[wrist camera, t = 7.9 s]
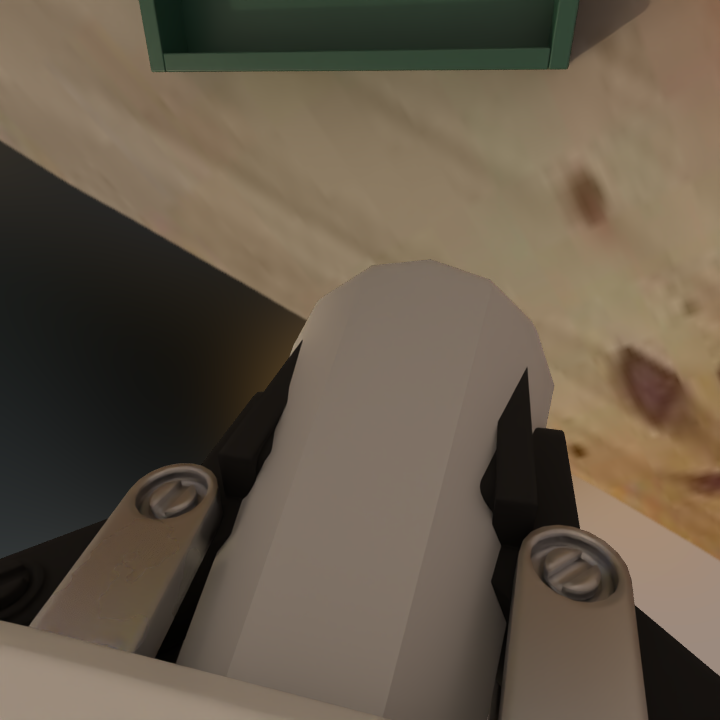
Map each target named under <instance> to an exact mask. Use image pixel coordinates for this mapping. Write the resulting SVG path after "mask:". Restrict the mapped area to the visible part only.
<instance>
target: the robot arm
mask: <svg viewBox="0 0 720 720" xmlns="http://www.w3.org/2000/svg"><path fill="white" fill-rule="evenodd" d="M302 341H303V340H302ZM302 341H301V342H300V343H299V345H298V346H297V348H296V349H295V350H294V352H293V353H292V354H291V356H290V357H289V358H288V360H287V361H286V362H285V364H284V365H283V366H282V368H281V369H280V371H279V372H278V373H277V375H276V376H275V377H274V379H273V380H272V381H271V383H270V384H269V385H268V387H267V388H266V389H265V391H264V392H257V393H256V394H255V395H254V396H253V397H252V399H251V400H250V401H249V403H248V404H247V405H246V407H245V408H244V409H243V411H242V412H241V413H240V414H239V416H238V417H237V419H236V420H235V421H234V422H233V424H232V425H231V426H230V428H229V429H228V430H227V432H226V433H225V434H224V436H223V437H222V438H221V439H220V441H219V442H218V443H217V445H216V446H215V447H214V449H213V450H212V451H211V453H210V454H209V455H208V456H207V458H206V459H205V460H204V462H203V463H202V464H201V465H196V464H191V463H186V464H185V463H184V464H174V465H169V466H165V467H162V468H159V469H157V470H155V471H152V472H150V473H149V474H147V475H146V476H144V477H143V478H141V479H140V480H138V482H136V484H135V485H134V486H133V487H132V488H131V489H130V490H129V491H128V493H127V494H126V495H125V497H124V498H123V499H122V501H121V502H120V504H119V505H118V506H117V508H116V509H115V510H114V512H113V513H112V514H111V516H110V517H109V518H108V519H106V520H103V521H101V522H98V523H95V524H92V525H90V526H87V527H84V528H81V529H79V530H76V531H74V532H71V533H68V534H65V535H63V536H60V537H57V538H55V539H52V540H49V541H47V542H44V543H42V544H39V545H36V546H33V547H31V548H28V549H25V550H23V551H20V552H18V553H15V554H12V555H9V556H6V557H4V558H1V559H0V720H391V719H387V718H383V717H379V716H375V715H372V714H368V713H364V712H360V711H356V710H352V709H348V708H345V707H341V706H337V705H333V704H329V703H325V702H321V701H317V700H314V699H310V698H306V697H302V696H298V695H294V694H290V693H287V692H283V691H279V690H275V689H271V688H267V687H263V686H259V685H256V684H252V683H248V682H244V681H240V680H236V679H232V678H228V677H224V676H221V675H217V674H213V673H209V672H205V671H201V670H197V669H193V668H189V667H185V666H182V665H178V664H176V661H177V659H178V656H179V653H180V651H181V648H182V645H183V643H184V640H185V637H186V634H187V632H188V629H189V626H190V624H191V621H192V618H193V616H194V613H195V610H196V608H197V605H198V602H199V599H200V597H201V594H202V591H203V589H204V586H205V583H206V581H207V578H208V575H209V572H210V570H211V567H212V564H213V562H214V559H215V556H216V554H217V552H218V551H219V549H220V548H221V547H222V546H223V544H224V543H225V542H226V540H227V539H228V538H229V536H230V535H231V533H232V530H233V527H234V524H235V521H236V518H237V515H238V512H239V509H240V506H241V503H242V500H243V499H244V498H245V497H246V496H247V495H248V494H249V492H250V490H251V489H252V487H253V485H254V483H255V481H256V478H257V476H258V474H259V472H260V470H261V468H262V466H263V464H264V462H265V460H266V459H267V457H268V456H269V455H270V453H271V450H272V446H273V439H274V432H275V428H276V426H277V424H278V422H279V420H280V417H281V415H282V413H283V411H284V409H285V407H286V404H287V402H288V393H289V386H290V383H291V379H292V376H293V372H294V369H295V366H296V362H297V359H298V355H299V352H300V348H301V345H302ZM480 491H481V495H482V497H483V499H484V501H485V503H486V504H487V506H488V507H489V509H490V510H491V511H492V513H493V518H492V525H493V528H494V530H495V532H496V535H497V537H498V540H499V542H500V544H501V548H500V551H499V555H498V558H497V562H496V565H495V569H494V572H493V576H492V579H491V584H492V587H493V589H494V592H495V594H496V597H497V600H498V602H499V605H500V607H501V610H502V613H503V615H504V618H505V621H506V628H505V633H504V638H503V643H502V648H501V653H500V658H499V663H498V668H497V673H496V678H495V683H494V688H493V693H492V698H491V703H490V708H489V713H488V720H720V676H719V675H718V674H716V673H715V672H714V671H713V670H712V669H710V668H709V667H708V666H706V664H704V663H703V662H702V661H701V660H700V659H698V658H697V657H696V656H695V655H694V654H692V653H691V652H690V651H689V650H687V648H685V647H684V646H683V645H682V644H680V643H679V642H678V641H677V640H676V639H675V638H673V637H672V636H671V635H670V634H668V633H667V632H666V631H665V630H664V629H663V628H661V627H660V626H659V625H658V624H656V622H654V621H653V620H652V619H651V618H650V617H648V616H647V615H646V614H645V613H644V612H642V611H641V610H640V609H639V608H638V607H636V606H635V605H634V597H633V589H632V581H631V577H630V574H629V571H628V567H627V565H626V564H625V562H624V561H623V560H622V558H621V557H620V555H619V554H618V553H617V552H616V551H615V550H614V549H613V548H612V547H611V546H610V545H608V544H607V543H606V542H605V541H603V540H602V539H600V538H598V537H596V536H595V535H593V534H591V533H589V532H587V531H584V530H581V529H580V526H579V520H578V513H577V507H576V502H575V495H574V489H573V483H572V477H571V471H570V464H569V458H568V452H567V446H566V440H565V435H564V432H563V431H562V430H554V429H547V428H539V427H538V428H535V430H534V432H533V433H532V420H531V407H530V394H529V381H528V368H526V370H525V371H524V373H523V375H522V377H521V379H520V381H519V383H518V385H517V386H516V388H515V390H514V392H513V394H512V396H511V398H510V400H509V402H508V403H507V405H506V407H505V409H504V411H503V413H502V415H501V417H500V418H499V420H498V426H497V448H496V451H495V453H494V455H493V457H492V459H491V461H490V463H489V465H488V467H487V469H486V471H485V473H484V475H483V477H482V479H481V482H480Z"/></svg>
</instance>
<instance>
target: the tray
mask: <svg viewBox="0 0 720 720" xmlns="http://www.w3.org/2000/svg"><path fill="white" fill-rule="evenodd" d="M139 4H140V9H141V15H142V20H143V26H144V32H145V37H146V43H147V48H148V54H149V60H150V65H151V71H152V72H229V71H379V70H530V69H567V68H568V66H569V60H570V54H571V48H572V42H573V36H574V30H575V24H576V18H577V12H578V6H579V0H139Z"/></svg>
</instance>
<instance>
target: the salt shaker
mask: <svg viewBox="0 0 720 720" xmlns="http://www.w3.org/2000/svg"><path fill="white" fill-rule="evenodd" d="M302 340H303V341H302ZM301 341H302V345H301V348H300V352H299V355H298V359H297V362H296V366H295V369H294V372H293V376H292V379H291V383H290V386H289V393H288V402H287V404H286V407H285V409H284V411H283V413H282V415H281V417H280V420H279V422H278V424H277V426H276V428H275V432H274V439H273V446H272V450H271V453H270V455H269V456H268V457H267V459H266V460H265V462H264V464H263V466H262V468H261V470H260V472H259V474H258V476H257V478H256V481H255V483H254V485H253V487H252V489H251V490H250V492H249V494H248V495H247V496H246V497H245V498H244V499H243V500H242V503H241V506H240V509H239V512H238V515H237V518H236V521H235V524H234V527H233V530H232V533H231V535H230V536H229V538H228V539H227V540H226V542H225V543H224V544H223V546H222V547H221V548H220V549H219V551H218V552H217V554H216V556H215V559H214V562H213V564H212V567H211V570H210V572H209V575H208V578H207V581H206V583H205V586H204V589H203V591H202V594H201V597H200V599H199V602H198V605H197V608H196V610H195V613H194V616H193V618H192V621H191V624H190V626H189V629H188V632H187V634H186V637H185V640H184V643H183V645H182V648H181V651H180V653H179V656H178V659H177V661H176V664H178V665H182V666H185V667H189V668H193V669H197V670H201V671H205V672H209V673H213V674H217V675H221V676H224V677H228V678H232V679H236V680H240V681H244V682H248V683H252V684H256V685H259V686H263V687H267V688H271V689H275V690H279V691H283V692H287V693H290V694H294V695H298V696H302V697H306V698H310V699H314V700H317V701H321V702H325V703H329V704H333V705H337V706H341V707H345V708H348V709H352V710H356V711H360V712H364V713H368V714H372V715H375V716H379V717H383V718H387V719H391V720H487V718H488V713H489V708H490V703H491V698H492V693H493V688H494V683H495V678H496V673H497V668H498V663H499V658H500V653H501V648H502V643H503V638H504V633H505V628H506V621H505V618H504V615H503V613H502V610H501V607H500V605H499V602H498V600H497V597H496V594H495V592H494V589H493V587H492V584H491V579H492V576H493V572H494V569H495V565H496V562H497V558H498V555H499V551H500V548H501V544H500V542H499V540H498V537H497V535H496V532H495V530H494V528H493V525H492V518H493V513H492V511H491V510H490V509H489V507H488V506H487V504H486V503H485V501H484V499H483V497H482V495H481V491H480V482H481V479H482V477H483V475H484V473H485V471H486V469H487V467H488V465H489V463H490V461H491V459H492V457H493V455H494V453H495V451H496V448H497V426H498V420H499V418H500V417H501V415H502V413H503V411H504V409H505V407H506V405H507V403H508V402H509V400H510V398H511V396H512V394H513V392H514V390H515V388H516V386H517V385H518V383H519V381H520V379H521V377H522V375H523V373H524V371H525V370H526V368H528V381H529V394H530V407H531V420H532V433H533V432H534V430H535V428H538V427H539V428H546V424H547V419H548V414H549V409H550V404H551V399H552V394H553V389H554V383H553V380H552V377H551V374H550V371H549V367H548V364H547V361H546V358H545V355H544V352H543V348H542V345H541V342H540V339H539V336H538V333H537V330H536V328H535V326H534V324H533V322H532V321H531V320H530V319H529V318H528V317H527V316H526V315H525V314H524V313H523V312H522V311H521V310H520V309H519V308H518V307H517V306H516V305H515V304H514V303H513V302H512V301H511V300H510V299H509V298H508V297H507V296H506V295H505V294H504V293H503V292H502V291H501V290H500V289H499V288H498V287H497V286H496V285H495V284H494V283H493V282H492V281H491V280H490V279H487V278H484V277H481V276H478V275H475V274H472V273H469V272H466V271H464V270H461V269H458V268H455V267H452V266H449V265H446V264H443V263H440V262H437V261H434V260H431V259H430V260H421V261H411V262H402V263H392V264H382V265H373V266H371V267H369V268H367V269H366V270H364V271H363V272H361V273H360V274H358V275H356V276H355V277H353V278H352V279H350V280H349V281H347V282H345V283H344V284H342V285H341V286H339V287H338V288H336V289H335V290H333V291H331V292H330V293H328V294H327V295H325V296H324V297H323V298H321V299H320V300H319V301H317V303H316V305H315V307H314V309H313V311H312V313H311V314H310V316H309V318H308V320H307V322H306V324H305V325H304V328H303V329H302V331H301V333H300V335H299V337H298V339H297V341H296V342H295V344H294V346H293V349H292V352H291V354H292V353H293V352H294V350H295V349H296V348H297V346H298V345H299V343H300V342H301ZM291 354H290V356H291Z"/></svg>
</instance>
